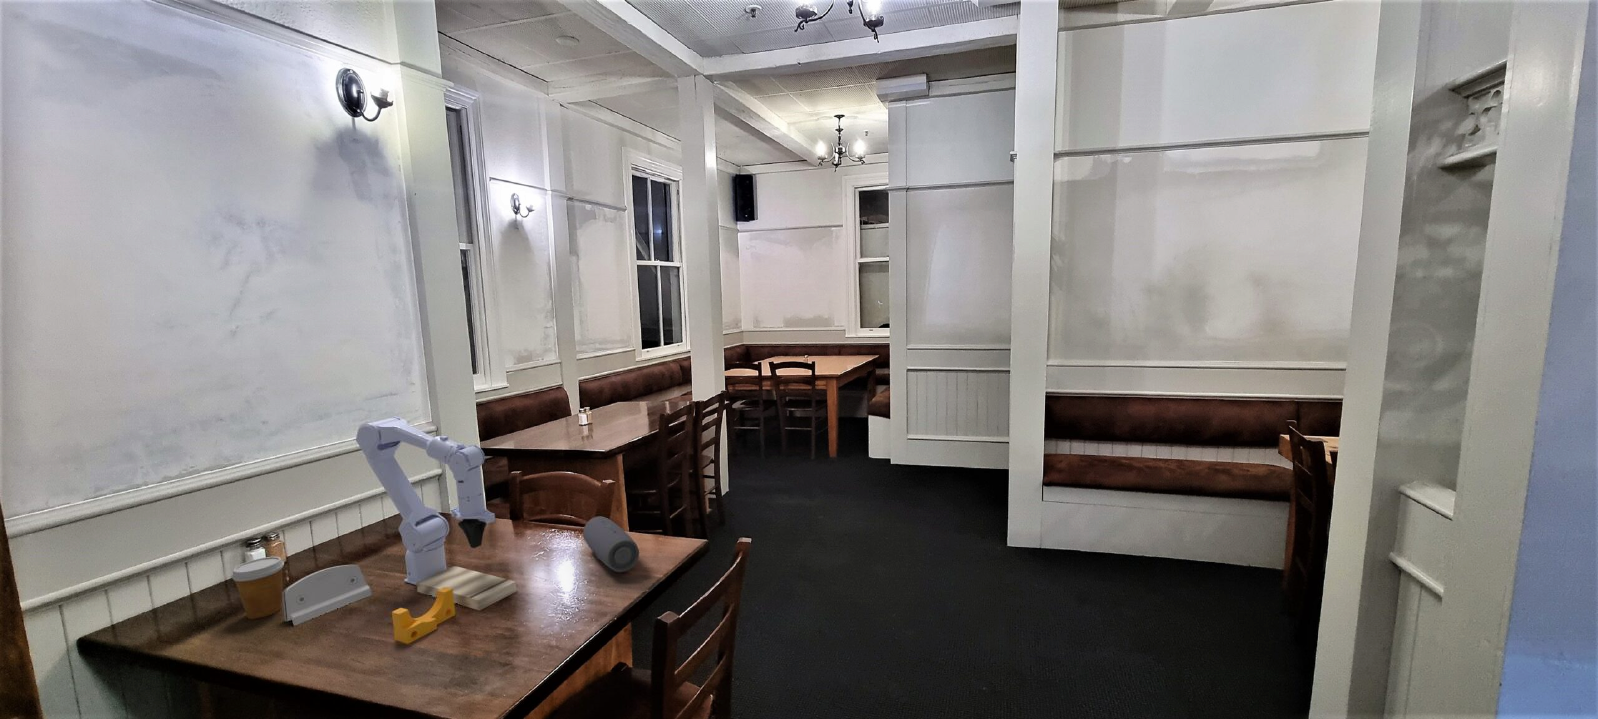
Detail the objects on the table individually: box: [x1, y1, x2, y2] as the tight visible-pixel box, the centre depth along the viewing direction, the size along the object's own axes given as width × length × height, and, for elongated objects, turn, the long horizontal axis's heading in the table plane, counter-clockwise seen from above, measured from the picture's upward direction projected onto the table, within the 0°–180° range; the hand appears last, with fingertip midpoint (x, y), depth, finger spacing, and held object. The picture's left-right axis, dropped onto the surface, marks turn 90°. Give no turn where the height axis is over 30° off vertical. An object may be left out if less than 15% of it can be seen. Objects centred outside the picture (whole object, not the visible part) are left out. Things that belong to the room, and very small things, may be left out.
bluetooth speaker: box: [582, 515, 640, 573], centre depth 166 cm, size 23×9×10 cm, turn 34°
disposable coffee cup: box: [230, 556, 285, 620], centre depth 147 cm, size 10×10×12 cm
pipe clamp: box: [391, 587, 456, 645], centre depth 136 cm, size 12×4×6 cm, turn 154°
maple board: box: [416, 565, 517, 611], centre depth 153 cm, size 24×10×3 cm, turn 63°
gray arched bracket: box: [282, 564, 373, 626], centre depth 149 cm, size 17×5×10 cm, turn 149°
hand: (476, 546), depth 157 cm, fingers closed
